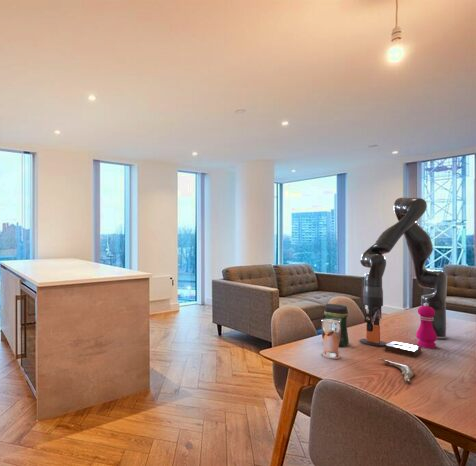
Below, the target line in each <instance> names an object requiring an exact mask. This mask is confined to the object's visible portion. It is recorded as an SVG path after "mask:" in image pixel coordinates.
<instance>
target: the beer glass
mask: <svg viewBox="0 0 476 466" xmlns="http://www.w3.org/2000/svg"><path fill="white" fill-rule="evenodd" d="M340 337H341V327H340V321H337V320H333V319H326V318H323V319H321V338H322V342H323V353H322V356H323V357H324V358H327V359H330V360H339V359H340V357H341V356H340V351H339V348H340V346H339V342H340Z"/></svg>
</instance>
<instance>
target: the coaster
mask: <svg viewBox="0 0 476 466" xmlns="http://www.w3.org/2000/svg"><path fill="white" fill-rule="evenodd" d="M360 343H361V344H364V345H366V346H371V347H378V348H380V347H383V348H384V347H385V345H387V344H388V343H386V342H385V341H382V340H380V343H379V344H378V343H374V342H369V341H366V338H361V339H360Z"/></svg>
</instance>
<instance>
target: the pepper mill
mask: <svg viewBox="0 0 476 466" xmlns="http://www.w3.org/2000/svg"><path fill="white" fill-rule="evenodd" d="M417 314H418V317H419V318H418V319H419V320H420V323H419V326H418V329H417V330H416V333H415V336H416V337H415V338H416V339H418V340H417V346H420V347H421V348H427V349H436V348H437V345H436V343H435V342H436V341H438V339H437V335H436V333H435V331H434V329H433V326H432V321H434V320H433V319H434V318H433V316H434V315H435V310H434V309H433V308H432V307H429V304H428V303H424V306H421V305H420V306H419V307H418V308H417Z"/></svg>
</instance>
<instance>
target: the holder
mask: <svg viewBox="0 0 476 466" xmlns="http://www.w3.org/2000/svg"><path fill="white" fill-rule="evenodd" d="M386 344H387V345H385V346H384V347H385V348H384V350H385V352H389V353H393V354H398V355H403V356H406V357H411V358H415V357H417V356H418V355H420V354H422V346H419V345H415V344H410V343H405V342H401V341H400V342H399V341H395V340H392V341H390V342H388V343H386Z"/></svg>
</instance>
